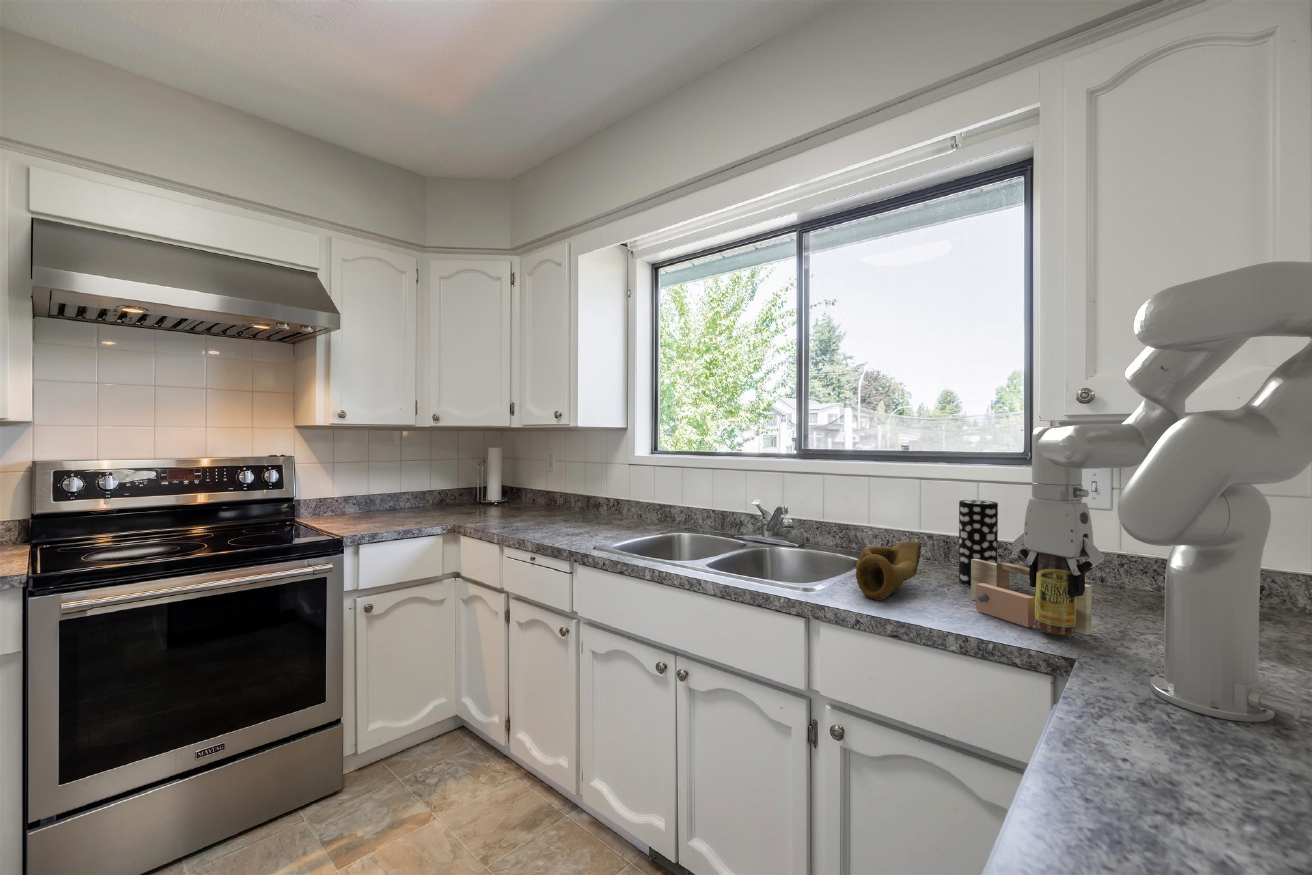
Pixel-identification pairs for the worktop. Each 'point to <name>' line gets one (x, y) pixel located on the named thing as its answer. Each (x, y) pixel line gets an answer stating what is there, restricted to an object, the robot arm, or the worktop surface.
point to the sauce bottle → (1054, 596)
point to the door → (1005, 604)
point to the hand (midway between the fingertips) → (1056, 589)
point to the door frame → (1000, 574)
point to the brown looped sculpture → (886, 568)
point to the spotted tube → (977, 535)
